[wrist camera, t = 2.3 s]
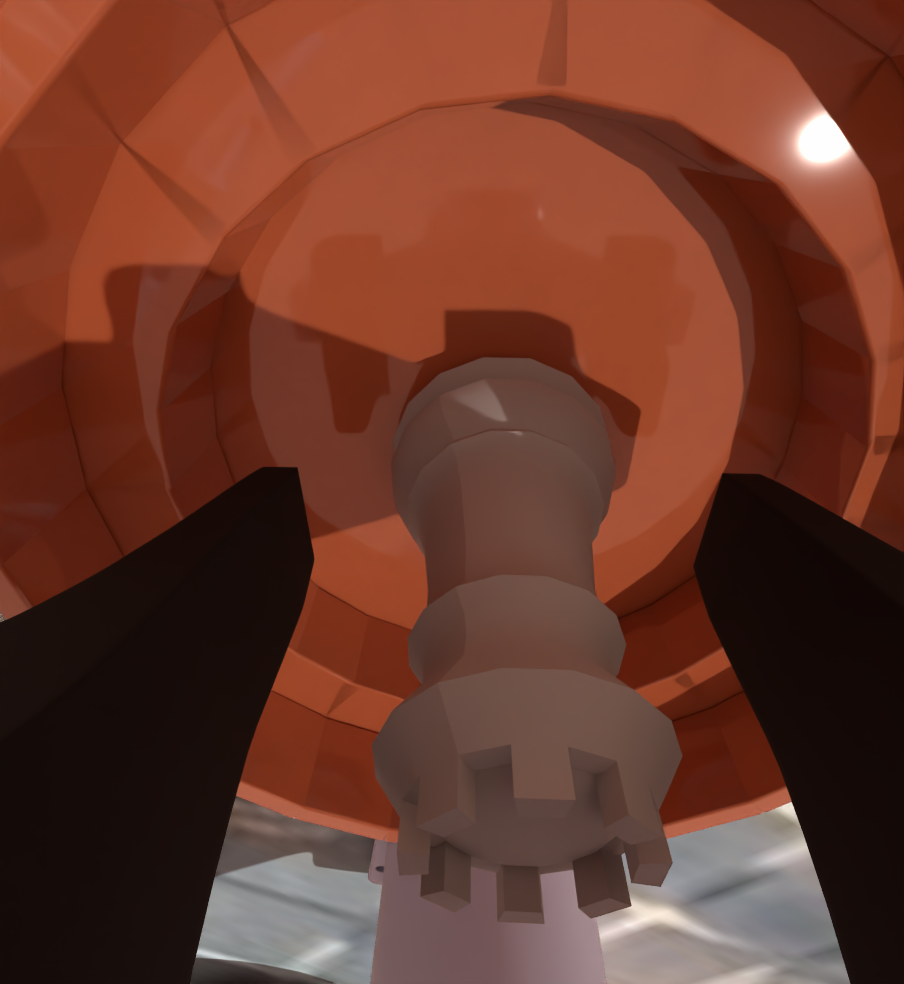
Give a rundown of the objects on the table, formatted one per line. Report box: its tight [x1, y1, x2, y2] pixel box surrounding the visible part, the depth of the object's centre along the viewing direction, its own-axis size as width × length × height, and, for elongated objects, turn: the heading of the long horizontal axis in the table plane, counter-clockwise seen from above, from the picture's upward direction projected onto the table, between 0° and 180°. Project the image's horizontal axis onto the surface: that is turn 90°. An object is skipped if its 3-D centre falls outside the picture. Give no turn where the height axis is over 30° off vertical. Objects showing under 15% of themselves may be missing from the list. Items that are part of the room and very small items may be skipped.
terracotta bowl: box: [0, 0, 904, 843], centre depth 10 cm, size 16×16×5 cm
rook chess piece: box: [372, 357, 682, 924], centre depth 8 cm, size 4×4×8 cm
